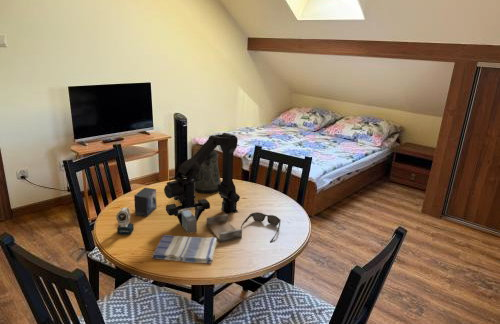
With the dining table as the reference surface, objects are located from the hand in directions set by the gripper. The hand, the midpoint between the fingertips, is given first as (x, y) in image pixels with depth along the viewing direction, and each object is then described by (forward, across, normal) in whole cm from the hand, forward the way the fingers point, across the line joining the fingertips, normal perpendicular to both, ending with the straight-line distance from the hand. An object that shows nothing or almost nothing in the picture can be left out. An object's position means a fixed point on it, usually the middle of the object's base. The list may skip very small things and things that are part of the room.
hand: (188, 223), depth 155 cm
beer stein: (+2, -24, -37) cm, 44 cm away
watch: (+2, +26, -6) cm, 27 cm away
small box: (+2, +14, -22) cm, 26 cm away
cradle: (+2, -13, +10) cm, 16 cm away
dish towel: (+2, +6, +17) cm, 18 cm away
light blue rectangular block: (+2, 0, 0) cm, 2 cm away
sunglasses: (+2, -29, +16) cm, 33 cm away
